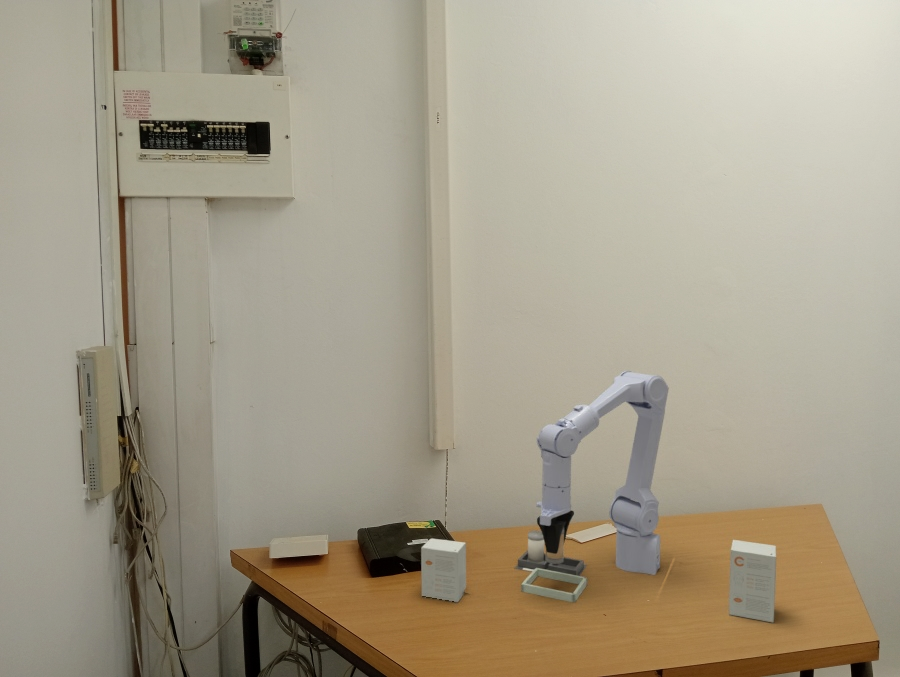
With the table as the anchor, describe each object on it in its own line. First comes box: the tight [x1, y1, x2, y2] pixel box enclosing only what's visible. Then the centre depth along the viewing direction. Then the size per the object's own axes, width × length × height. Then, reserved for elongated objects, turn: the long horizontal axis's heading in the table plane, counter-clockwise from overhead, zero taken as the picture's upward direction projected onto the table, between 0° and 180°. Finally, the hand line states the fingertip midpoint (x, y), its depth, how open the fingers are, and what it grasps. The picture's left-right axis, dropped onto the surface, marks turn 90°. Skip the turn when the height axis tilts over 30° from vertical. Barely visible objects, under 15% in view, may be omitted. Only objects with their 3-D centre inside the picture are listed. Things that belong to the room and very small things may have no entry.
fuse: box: [527, 530, 545, 563], centre depth 157 cm, size 4×4×7 cm
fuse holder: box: [513, 549, 588, 576], centre depth 156 cm, size 14×9×2 cm, turn 64°
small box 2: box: [728, 539, 777, 624], centre depth 137 cm, size 8×6×13 cm
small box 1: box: [420, 537, 467, 603], centre depth 144 cm, size 8×6×10 cm
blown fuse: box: [545, 527, 565, 564], centre depth 145 cm, size 4×4×7 cm
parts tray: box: [520, 568, 588, 603], centre depth 145 cm, size 11×9×2 cm
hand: (555, 549), depth 145 cm, fingers closed on blown fuse, 4 cm apart
